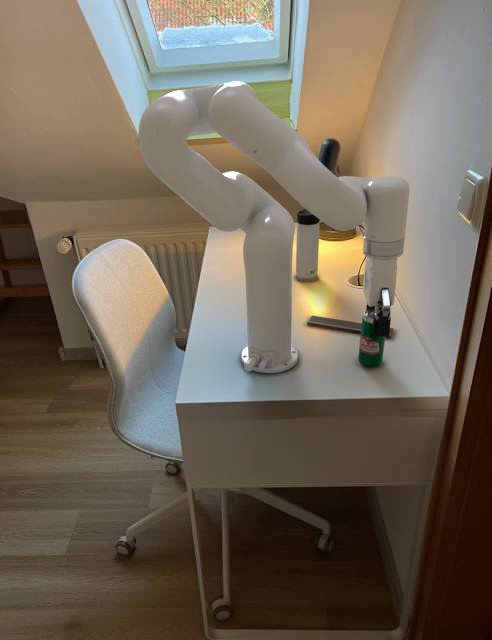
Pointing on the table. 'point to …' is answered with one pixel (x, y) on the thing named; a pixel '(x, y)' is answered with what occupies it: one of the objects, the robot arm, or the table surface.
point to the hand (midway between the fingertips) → (377, 324)
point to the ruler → (338, 325)
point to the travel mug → (307, 246)
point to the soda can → (370, 342)
